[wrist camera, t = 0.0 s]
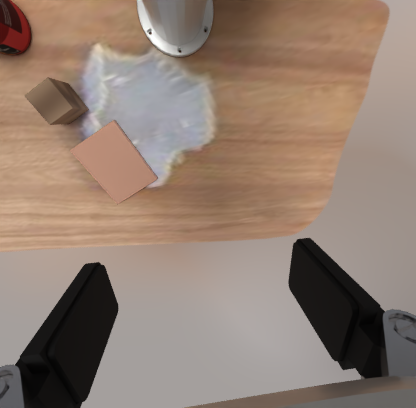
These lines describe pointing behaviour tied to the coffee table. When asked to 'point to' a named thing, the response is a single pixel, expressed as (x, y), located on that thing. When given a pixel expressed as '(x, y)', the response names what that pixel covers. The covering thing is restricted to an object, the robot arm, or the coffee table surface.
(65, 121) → the walnut block
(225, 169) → the coffee table surface
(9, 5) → the canned food
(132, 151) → the terracotta tile
